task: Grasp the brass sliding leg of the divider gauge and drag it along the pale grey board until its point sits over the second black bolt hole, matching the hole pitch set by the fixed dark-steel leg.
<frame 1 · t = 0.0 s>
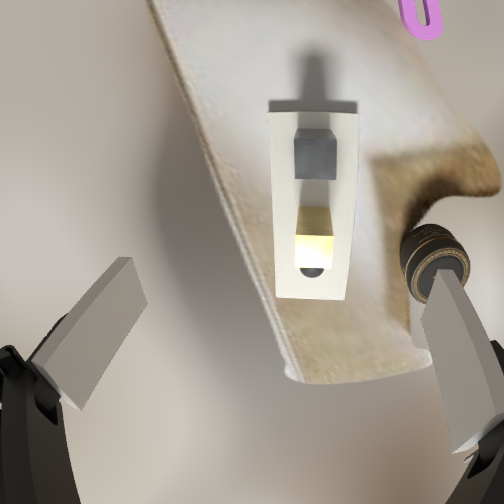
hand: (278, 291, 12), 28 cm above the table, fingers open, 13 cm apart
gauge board: (313, 213, 39), on the table
jar: (425, 248, 38), on the table
sliding leg: (313, 233, 34), point 6 cm above the table, slide at 0.0 cm
fixed leg: (313, 141, 34), resting on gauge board
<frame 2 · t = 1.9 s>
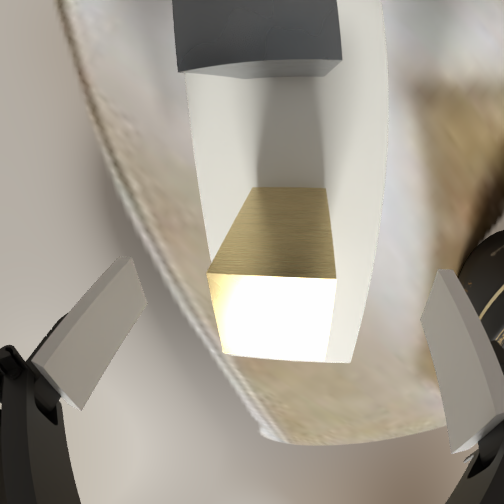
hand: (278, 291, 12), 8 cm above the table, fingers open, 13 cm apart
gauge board: (292, 204, 18), on the table
jar: (495, 272, 18), on the table
sliding leg: (283, 256, 13), point 6 cm above the table, slide at 0.0 cm
fixed leg: (284, 47, 13), resting on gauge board
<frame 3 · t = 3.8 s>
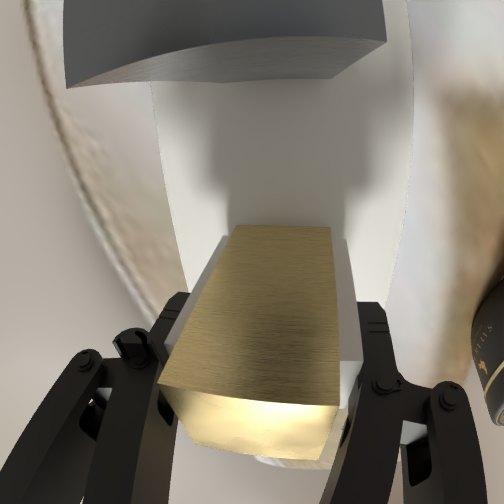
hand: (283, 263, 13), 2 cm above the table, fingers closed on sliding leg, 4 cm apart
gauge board: (287, 240, 15), on the table
sliding leg: (272, 325, 10), point 6 cm above the table, slide at 0.0 cm, touching gripper
fixed leg: (278, 40, 10), resting on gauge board
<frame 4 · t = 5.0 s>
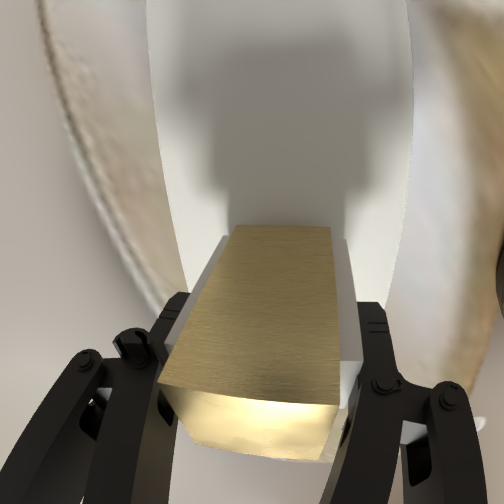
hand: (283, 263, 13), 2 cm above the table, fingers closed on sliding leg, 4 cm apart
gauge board: (285, 150, 13), on the table
sliding leg: (272, 325, 10), point 6 cm above the table, slide at 4.8 cm, touching gripper
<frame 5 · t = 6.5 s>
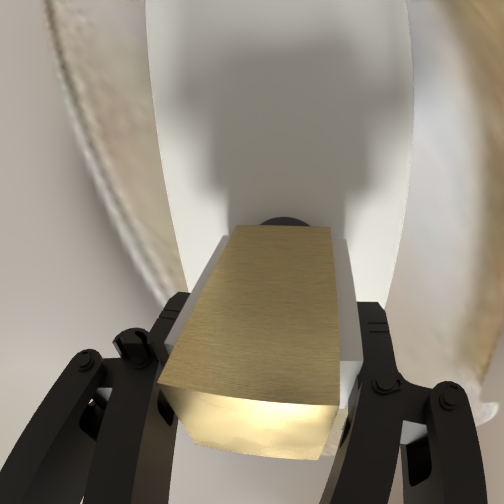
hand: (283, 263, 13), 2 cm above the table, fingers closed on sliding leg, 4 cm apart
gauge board: (281, 76, 11), on the table
sliding leg: (272, 325, 10), point 6 cm above the table, slide at 8.3 cm, touching gripper
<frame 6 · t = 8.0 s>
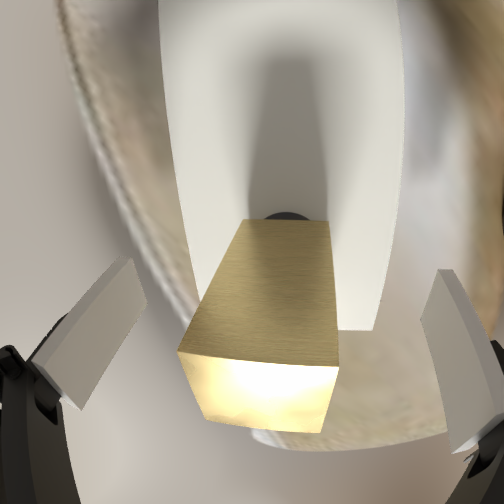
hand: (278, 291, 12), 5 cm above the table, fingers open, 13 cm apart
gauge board: (283, 83, 12), on the table
sliding leg: (277, 308, 11), point 6 cm above the table, slide at 8.3 cm
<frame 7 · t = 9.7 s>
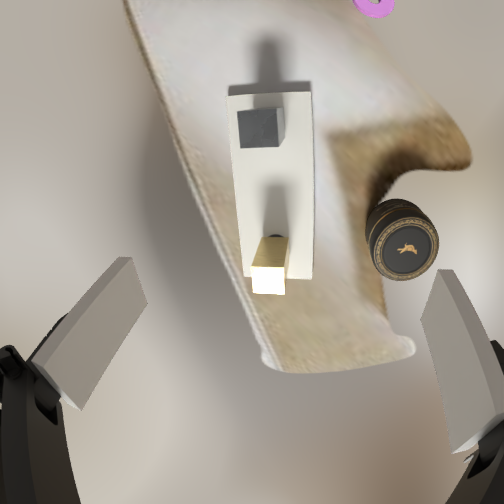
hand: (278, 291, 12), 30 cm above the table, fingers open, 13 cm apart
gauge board: (275, 190, 41), on the table
jar: (393, 225, 40), on the table
sliding leg: (272, 262, 39), point 6 cm above the table, slide at 8.3 cm
fixed leg: (270, 121, 36), resting on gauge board
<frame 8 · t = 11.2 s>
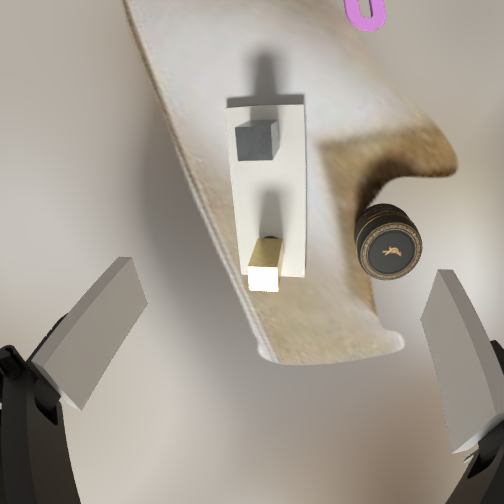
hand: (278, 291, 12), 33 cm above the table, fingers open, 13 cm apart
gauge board: (270, 195, 44), on the table
jar: (381, 227, 43), on the table
sliding leg: (267, 262, 43), point 6 cm above the table, slide at 8.3 cm
fixed leg: (266, 131, 39), resting on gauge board
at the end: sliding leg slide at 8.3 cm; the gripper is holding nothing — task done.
